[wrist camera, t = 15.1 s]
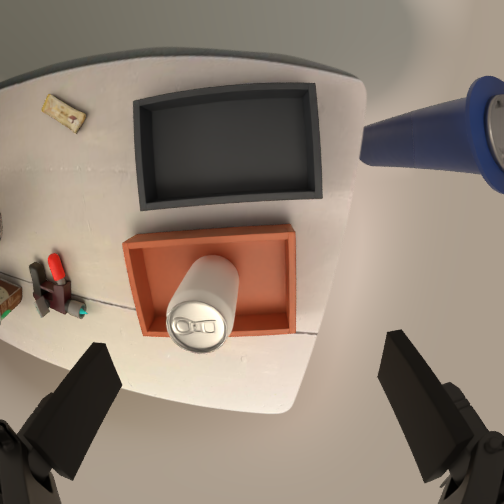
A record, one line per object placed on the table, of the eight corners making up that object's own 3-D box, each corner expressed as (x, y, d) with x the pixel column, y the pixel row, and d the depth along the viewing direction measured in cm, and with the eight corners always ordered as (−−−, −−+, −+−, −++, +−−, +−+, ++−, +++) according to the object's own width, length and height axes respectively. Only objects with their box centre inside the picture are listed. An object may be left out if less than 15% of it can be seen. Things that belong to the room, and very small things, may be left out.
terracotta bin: (290, 223, 33) (295, 231, 29) (291, 316, 37) (295, 333, 33) (135, 234, 34) (121, 243, 30) (152, 320, 38) (142, 336, 34)
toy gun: (92, 319, 38) (77, 334, 33) (38, 295, 37) (22, 307, 33) (92, 263, 35) (74, 275, 31) (36, 243, 34) (17, 252, 30)
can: (186, 254, 34) (155, 296, 23) (238, 252, 34) (230, 296, 23) (191, 301, 36) (168, 355, 25) (240, 300, 36) (234, 357, 25)
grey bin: (308, 92, 29) (315, 82, 25) (314, 194, 32) (322, 198, 28) (146, 107, 29) (132, 100, 25) (153, 205, 33) (140, 211, 29)
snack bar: (40, 111, 28) (44, 94, 26) (47, 109, 29) (51, 92, 27) (76, 135, 29) (81, 115, 27) (83, 133, 30) (89, 114, 29)
